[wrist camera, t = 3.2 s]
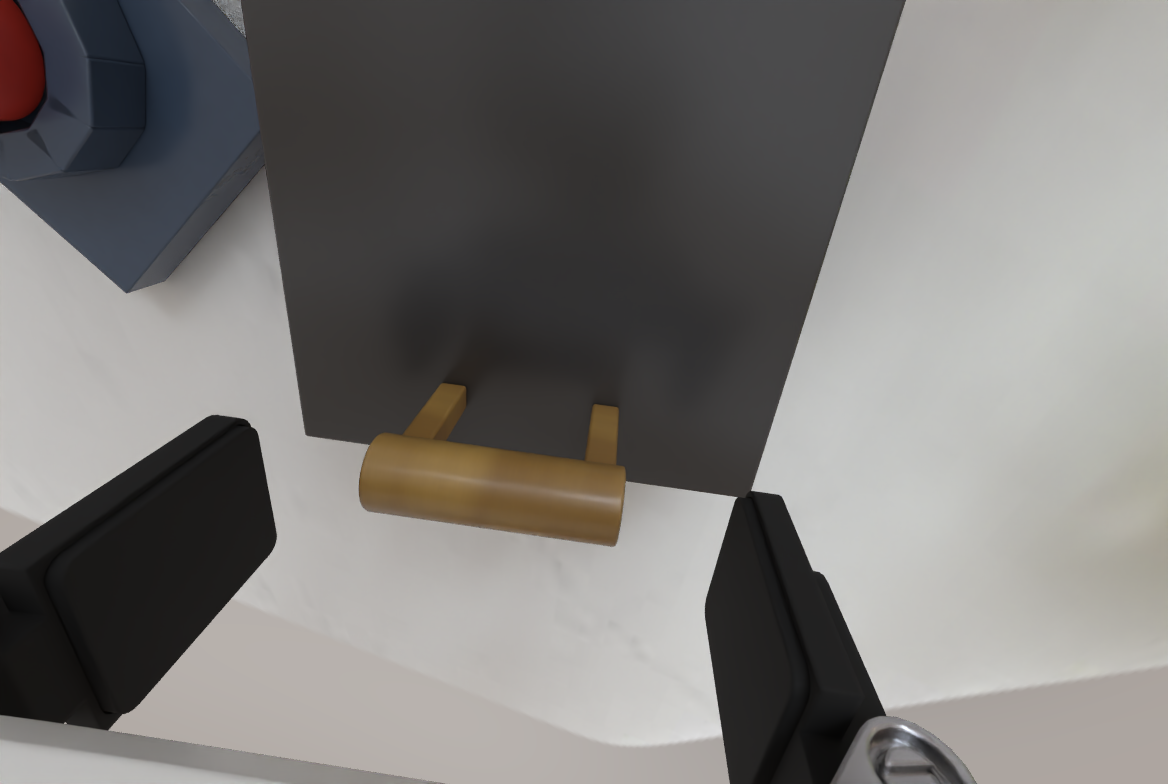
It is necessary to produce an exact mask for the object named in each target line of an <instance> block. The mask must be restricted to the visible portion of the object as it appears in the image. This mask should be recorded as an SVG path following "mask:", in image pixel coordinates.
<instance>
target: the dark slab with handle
mask: <svg viewBox="0 0 1168 784" xmlns="http://www.w3.org/2000/svg"><path fill="white" fill-rule="evenodd" d="M905 1H906V0H241V6H242V12H243V19H244V26H245V32H246V39H247V46H248V53H249V59H250V66H251V73H252V79H253V86H254V93H255V100H256V106H257V113H258V120H259V126H260V133H261V140H262V147H263V153H264V160H265V167H266V173H267V180H268V187H269V194H270V200H271V207H272V214H273V220H274V227H275V234H276V240H277V247H278V254H279V261H280V267H281V274H282V281H283V287H284V294H285V301H286V308H287V314H288V321H289V328H290V334H291V341H292V348H293V355H294V361H295V368H296V375H297V381H298V388H299V395H300V402H301V408H302V415H303V422H304V428H305V434H306V435H307V436H311V437H318V438H325V439H332V440H339V441H347V442H354V443H361V444H368V445H370V446H369V448H368V450H367V452H366V455H365V457H364V460H363V464H362V468H361V472H360V478H359V498H360V502H361V505H362V507H363V508H364V509H365V510H367V511H369V512H376V513H383V514H390V515H396V516H403V517H410V518H417V519H424V520H431V521H438V522H445V523H452V524H459V525H465V526H472V527H479V528H486V529H493V530H500V531H507V532H514V533H521V534H527V535H534V536H541V537H548V538H555V539H562V540H569V541H576V542H583V543H589V544H596V545H603V546H610V547H614V546H615V545H616V543H617V540H618V536H619V531H620V526H621V519H622V512H623V504H624V495H625V483H626V481H628V482H635V483H643V484H650V485H657V486H664V487H671V488H678V489H685V490H692V491H699V492H706V493H713V494H720V495H727V496H734V497H743V498H745V497H746V495H747V493H748V492H749V491H751V489H752V486H753V483H754V480H755V476H756V473H757V470H758V467H759V464H760V461H761V457H762V454H763V451H764V448H765V445H766V442H767V438H768V435H769V432H770V429H771V426H772V423H773V419H774V416H775V413H776V410H777V407H778V404H779V400H780V397H781V394H782V391H783V388H784V385H785V381H786V378H787V375H788V372H789V369H790V366H791V362H792V359H793V356H794V353H795V350H796V347H797V343H798V340H799V337H800V334H801V331H802V328H803V324H804V321H805V318H806V315H807V312H808V309H809V305H810V302H811V299H812V296H813V293H814V290H815V286H816V283H817V280H818V277H819V274H820V271H821V267H822V264H823V261H824V258H825V255H826V251H827V248H828V245H829V242H830V239H831V236H832V232H833V229H834V226H835V223H836V220H837V217H838V213H839V210H840V207H841V204H842V201H843V198H844V194H845V191H846V188H847V185H848V182H849V179H850V175H851V172H852V169H853V166H854V163H855V160H856V156H857V153H858V150H859V147H860V144H861V141H862V137H863V134H864V131H865V128H866V125H867V122H868V118H869V115H870V112H871V109H872V106H873V103H874V99H875V96H876V93H877V90H878V87H879V84H880V80H881V77H882V74H883V71H884V68H885V65H886V61H887V58H888V55H889V52H890V49H891V46H892V42H893V39H894V36H895V33H896V30H897V27H898V23H899V20H900V17H901V14H902V11H903V8H904V4H905Z"/></svg>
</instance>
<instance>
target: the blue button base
mask: <svg viewBox="0 0 1168 784" xmlns="http://www.w3.org/2000/svg"><path fill="white" fill-rule="evenodd" d="M13 1H14V2H15V3H16V5H17V6H18V7H19V8H20V10H21V11H22V13H23V14H24V16H25V17H26V19H27V21H28V22H29V24H30V26H31V28H32V30H33V32H34V34H35V36H36V38H37V41H38V43H39V46H40V49H41V52H42V56H43V60H44V66H45V90H44V93H43V97H42V99H41V101H40V103H39V105H38V106H37V108H36V109H35V110H34V111H33V112H32V113H31V114H29V115H27V116H26V117H24V118H21V119H18V120H13V121H0V182H1V183H2V184H3V185H4V186H5V187H6V188H8V189H9V190H10V191H11V192H12V193H13V194H14V195H15V196H17V197H18V198H19V199H20V200H21V201H22V202H23V203H25V204H26V205H27V206H28V207H29V208H30V209H31V210H32V211H34V212H35V213H36V214H37V215H38V216H39V217H40V218H42V219H43V220H44V221H45V222H46V223H47V224H48V225H49V226H51V227H52V228H53V229H54V230H55V231H56V232H57V233H59V234H60V235H61V236H62V237H63V238H64V239H65V240H66V241H68V242H69V243H70V244H71V245H72V246H73V247H74V248H75V249H77V250H78V251H79V252H80V253H81V254H82V255H83V256H85V257H86V258H87V259H88V260H89V261H90V262H91V263H92V264H94V265H95V266H96V267H97V268H98V269H99V270H100V271H102V272H103V273H104V274H105V275H106V276H107V277H108V278H109V279H111V280H112V281H113V282H114V283H115V284H116V285H117V286H119V287H120V288H121V289H122V290H123V291H124V292H125V293H129V292H132V291H136V290H139V289H142V288H145V287H148V286H151V285H154V284H157V283H160V282H164V281H165V280H166V279H167V278H168V277H169V275H170V274H171V273H172V272H173V271H174V270H175V268H176V267H177V266H178V265H179V264H180V263H181V261H182V260H183V259H184V258H185V257H186V255H187V254H188V253H189V252H190V251H191V250H192V248H193V247H194V246H195V245H196V244H197V243H198V241H199V240H200V239H201V238H202V237H203V236H204V234H205V233H206V232H207V231H208V230H209V229H210V227H211V226H212V225H213V224H214V223H215V221H216V220H217V219H218V218H219V217H220V216H221V214H222V213H223V212H224V211H225V210H226V209H227V207H228V206H229V205H230V204H231V203H232V202H233V200H234V199H235V198H236V197H237V196H238V194H239V193H240V192H241V191H242V190H243V189H244V187H245V186H246V185H247V184H248V183H249V182H250V180H251V179H252V178H253V177H254V176H255V175H256V173H257V172H258V171H259V170H260V169H261V167H262V166H263V165H264V164H265V160H264V153H263V147H262V140H261V133H260V126H259V120H258V113H257V106H256V100H255V93H254V86H253V79H252V73H251V66H250V59H249V53H248V46H247V40H246V39H245V37H244V36H243V35H242V34H241V33H240V32H239V31H238V30H237V28H236V27H235V26H234V25H233V24H232V23H231V22H230V20H229V19H228V18H227V17H226V16H225V15H224V14H223V12H222V11H221V10H220V9H219V8H218V7H217V6H216V5H215V3H214V2H213V1H212V0H13Z"/></svg>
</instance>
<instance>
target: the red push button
mask: <svg viewBox="0 0 1168 784" xmlns="http://www.w3.org/2000/svg"><path fill="white" fill-rule="evenodd" d="M44 90H45V66H44V60H43V56H42V52H41V49H40V46H39V43H38V41H37V38H36V36H35V34H34V32H33V30H32V28H31V26H30V24H29V22H28V21H27V19H26V17H25V16H24V14H23V13H22V11H21V10H20V8H19V7H18V6H17V5H16V3H15V2H14V1H13V0H0V121H13V120H18V119H21V118H24V117H26V116H27V115H29V114H31V113H32V112H33V111H34V110H35V109H36V108H37V106H38V105H39V103H40V101H41V99H42V97H43V93H44Z"/></svg>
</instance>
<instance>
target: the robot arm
mask: <svg viewBox="0 0 1168 784" xmlns="http://www.w3.org/2000/svg"><path fill="white" fill-rule="evenodd" d="M276 539H277V533H276V528H275V522H274V517H273V511H272V506H271V501H270V495H269V490H268V485H267V479H266V474H265V468H264V463H263V458H262V452H261V447H260V442H259V436H258V433H257V431H256V430H255V429H254V428H252V427H251V425H250V423H249V422H248V421H247V420H245V419H241V418H234V417H227V416H220V415H211V416H209V417H206V418H205V419H203V420H202V421H200V422H199V423H197V424H196V425H194V426H193V427H191V428H190V429H188V430H187V431H185V432H184V433H182V434H181V435H179V436H177V437H176V438H174V439H173V440H171V441H170V442H168V443H167V444H165V445H164V446H162V447H161V448H159V449H158V450H156V451H155V452H153V453H152V454H150V455H149V456H147V457H145V458H144V459H142V460H141V461H139V462H138V463H136V464H135V465H133V466H132V467H130V468H129V469H127V470H126V471H124V472H123V473H121V474H120V475H118V476H116V477H115V478H113V479H112V480H110V481H109V482H107V483H106V484H104V485H103V486H101V487H100V488H98V489H97V490H95V491H94V492H92V493H91V494H89V495H87V496H86V497H84V498H83V499H81V500H80V501H78V502H77V503H75V504H74V505H72V506H71V507H69V508H68V509H66V510H65V511H63V512H62V513H60V514H58V515H57V516H55V517H54V518H52V519H51V520H49V521H48V522H46V523H45V524H43V525H42V526H40V527H39V528H37V529H36V530H34V531H33V532H31V533H30V534H28V535H26V536H25V537H23V538H22V539H20V540H19V541H17V542H16V543H14V544H13V545H11V546H10V547H8V548H7V549H5V550H4V551H2V552H1V553H0V784H443V783H437V782H432V781H425V780H419V779H413V778H407V777H401V776H394V775H388V774H381V773H376V772H369V771H363V770H357V769H351V768H344V767H338V766H332V765H326V764H319V763H312V762H307V761H300V760H294V759H288V758H281V757H275V756H268V755H262V754H256V753H249V752H243V751H237V750H231V749H225V748H218V747H212V746H205V745H199V744H192V743H186V742H179V741H173V740H165V739H160V738H153V737H146V736H139V735H133V734H127V733H120V732H114V731H108V730H109V728H110V727H111V726H112V725H113V724H114V723H115V722H116V721H117V720H118V718H119V717H120V716H121V715H122V714H125V713H129V712H130V711H132V710H133V709H134V708H135V707H136V706H138V705H139V704H140V702H141V701H142V700H143V699H144V698H145V697H146V696H147V694H148V693H149V692H150V691H151V690H152V688H154V686H155V685H156V684H157V683H158V682H159V681H160V680H161V678H162V677H163V676H164V675H165V674H166V673H167V672H168V670H169V669H170V668H171V667H172V666H173V665H174V663H175V662H176V661H177V660H178V659H179V658H180V657H181V655H182V654H183V653H184V652H185V651H186V650H187V649H188V647H189V646H190V645H191V644H192V643H193V642H194V641H195V639H196V638H197V637H198V636H199V635H200V634H201V633H202V631H203V630H204V629H205V628H206V627H207V625H209V623H210V622H211V621H212V620H213V619H214V618H215V616H216V615H217V614H218V613H219V612H220V611H221V610H222V608H223V607H224V606H225V605H226V604H227V603H228V602H229V600H230V599H231V598H232V597H233V596H234V595H235V594H236V592H237V591H238V590H239V589H240V588H241V587H242V586H243V584H244V583H245V582H246V581H247V580H248V579H249V578H250V576H251V575H252V574H253V573H254V572H255V571H256V570H257V568H258V567H259V566H260V565H261V564H262V563H263V561H264V560H265V559H266V558H267V557H268V556H269V555H270V553H271V552H272V550H273V548H274V546H275V543H276ZM705 620H706V627H707V634H708V640H709V647H710V654H711V660H712V667H713V674H714V680H715V687H716V694H717V700H718V707H719V714H720V720H721V727H722V733H723V740H724V746H725V753H726V759H727V767H728V773H729V780H730V784H977V783H976V781H975V780H974V778H973V777H972V775H971V773H970V771H969V770H968V768H967V767H966V766H965V764H964V763H963V762H962V761H961V760H960V759H959V757H958V756H957V755H956V754H955V753H954V752H953V751H952V749H951V748H949V747H948V746H947V745H946V744H945V743H943V742H942V741H941V740H940V739H939V738H937V737H936V736H935V735H934V734H932V733H930V732H929V731H927V730H925V729H924V728H922V727H920V726H918V725H917V724H915V723H913V722H910V721H907V720H904V719H901V718H898V717H890V716H886V714H885V711H884V709H883V707H882V705H881V702H880V700H879V698H878V695H877V693H876V691H875V689H874V686H873V684H872V682H871V679H870V677H869V675H868V673H867V670H866V668H865V666H864V664H863V661H862V659H861V657H860V654H859V652H858V650H857V648H856V645H855V643H854V641H853V638H852V636H851V634H850V632H849V629H848V627H847V625H846V622H845V620H844V618H843V616H842V613H841V611H840V609H839V606H838V604H837V602H836V600H835V597H834V595H833V593H832V591H831V588H830V586H829V584H828V582H827V580H826V578H825V577H824V575H822V574H821V573H820V572H815V571H813V570H812V568H811V566H810V563H809V561H808V558H807V556H806V554H805V551H804V549H803V546H802V544H801V541H800V539H799V537H798V534H797V532H796V529H795V527H794V525H793V522H792V520H791V517H790V515H789V513H788V510H787V508H786V505H785V503H784V500H783V499H782V497H781V496H780V495H776V494H769V493H762V492H755V491H749V492H748V493H747V495H746V497H745V498H743V497H738V498H737V499H736V500H735V503H734V506H733V510H732V513H731V516H730V520H729V523H728V526H727V530H726V533H725V537H724V540H723V543H722V547H721V550H720V553H719V557H718V560H717V564H716V567H715V570H714V574H713V577H712V580H711V584H710V587H709V591H708V594H707V597H706V603H705ZM65 722H66V723H67V724H64V723H65Z"/></svg>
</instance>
